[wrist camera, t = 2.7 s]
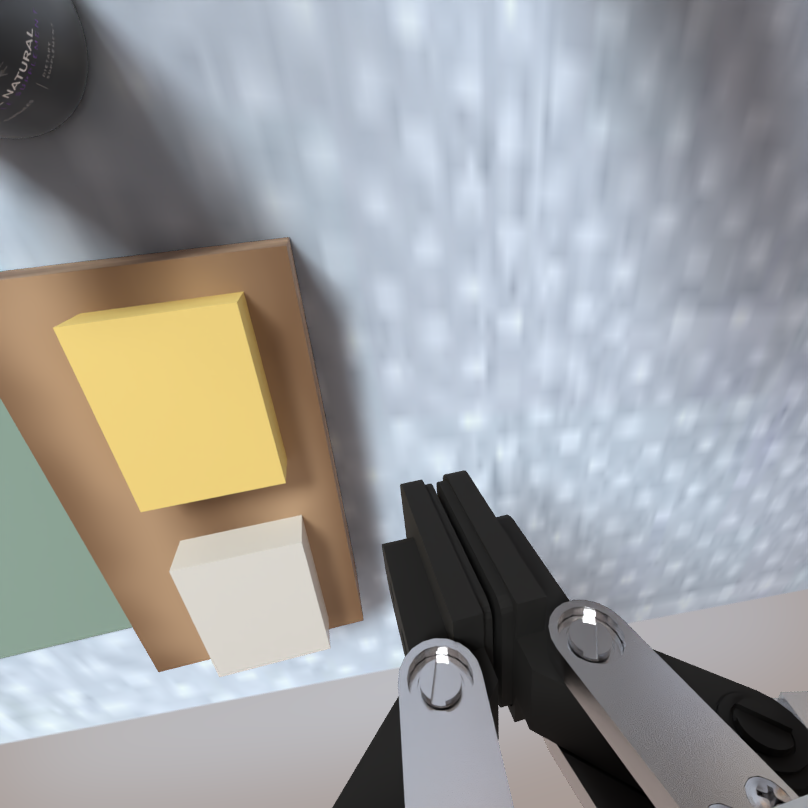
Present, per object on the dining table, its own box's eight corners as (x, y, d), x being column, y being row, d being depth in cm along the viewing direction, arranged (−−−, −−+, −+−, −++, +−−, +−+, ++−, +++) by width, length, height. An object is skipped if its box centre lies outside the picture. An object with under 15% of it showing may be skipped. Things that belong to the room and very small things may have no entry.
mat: (32, 267, 19) (28, 268, 18) (192, 609, 28) (191, 613, 28) (-305, 307, 17) (-314, 308, 17) (-10, 656, 27) (-13, 661, 26)
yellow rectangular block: (243, 291, 17) (237, 302, 15) (287, 458, 21) (285, 483, 19) (79, 313, 16) (52, 327, 14) (155, 484, 20) (140, 512, 18)
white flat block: (301, 514, 22) (301, 542, 20) (328, 617, 26) (330, 648, 24) (180, 540, 21) (169, 571, 20) (225, 643, 25) (219, 677, 23)
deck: (289, 237, 20) (286, 245, 17) (356, 570, 30) (363, 620, 27) (6, 270, 18) (-64, 287, 15) (176, 613, 28) (158, 672, 25)
